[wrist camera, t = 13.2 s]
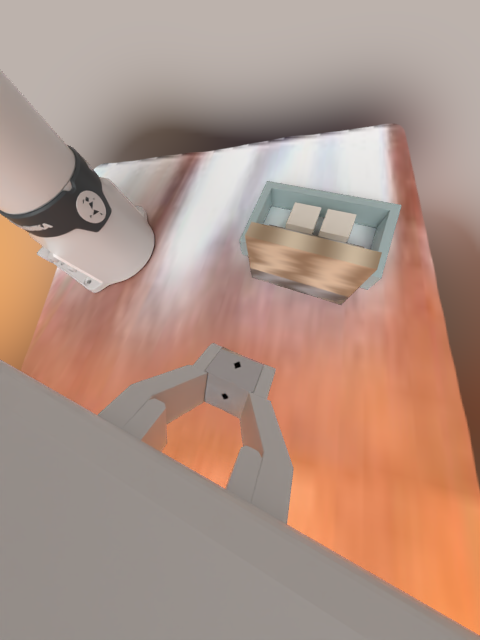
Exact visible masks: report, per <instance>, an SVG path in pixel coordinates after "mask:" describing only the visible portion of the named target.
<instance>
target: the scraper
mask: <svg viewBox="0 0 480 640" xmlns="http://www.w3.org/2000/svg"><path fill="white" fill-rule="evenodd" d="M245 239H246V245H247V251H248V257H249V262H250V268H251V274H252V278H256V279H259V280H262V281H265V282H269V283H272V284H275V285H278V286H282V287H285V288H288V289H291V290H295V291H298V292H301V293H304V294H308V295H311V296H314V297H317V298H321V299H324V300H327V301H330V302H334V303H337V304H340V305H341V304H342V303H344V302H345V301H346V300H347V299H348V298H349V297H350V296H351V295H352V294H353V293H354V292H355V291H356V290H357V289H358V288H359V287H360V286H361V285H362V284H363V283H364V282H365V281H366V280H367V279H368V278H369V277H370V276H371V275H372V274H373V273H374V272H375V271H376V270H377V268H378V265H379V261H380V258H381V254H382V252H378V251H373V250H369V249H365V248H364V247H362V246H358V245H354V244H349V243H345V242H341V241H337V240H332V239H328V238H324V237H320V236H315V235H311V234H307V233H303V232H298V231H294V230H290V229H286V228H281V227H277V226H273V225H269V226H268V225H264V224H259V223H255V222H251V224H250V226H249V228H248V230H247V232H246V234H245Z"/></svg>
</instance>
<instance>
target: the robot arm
mask: <svg viewBox="0 0 480 640" xmlns="http://www.w3.org/2000/svg"><path fill="white" fill-rule="evenodd" d="M0 214H2V215H3V216H5V217H6V218H7V219H9V221H11V222H12V223H14V224H15V225H16V226H18V227H20V228H22V229H24V230H26V231H27V232H29V235H30V237H32V238H33V239H34V240H35V241H37V242H38V243H39V244H41V245H42V247H43V248H41V249H40V250H39V251H38V252H37V255H39V256H40V257H42V258H44V259H46V260H47V261H49V262H52V263H54V264H55V265H56V266H58V267H59V268H60V269H62V270H63V271H64V272H66V273H67V274H68V275H70V276H71V277H72V278H74V279H75V280H76V281H78V282H79V283H80V284H81V285H83V286H84V287H85V288H87V289H88V290H90V291H91V292H93V293H96V292H99V291H101V290H102V289H104V288H105V287H107V286H108V285H110V284H113V283H117V282H121V281H124V280H126V279H128V278H130V277H132V276H133V275H135V274H136V273H137V272H138V271H140V270H141V269H142V268H143V266H144V265H145V264H146V263H147V261H148V260H149V258H150V256H151V254H152V251H153V248H154V234H153V231H152V229H151V227H150V226H149V224H148V222H147V213H146V211H145V210H144V209H143V208H142V207H141V206H134V205H133V204H132V203H131V202H130V201H129V200H128V199H127V197H126V196H125V195H124V194H123V193H122V192H121V191H120V190H119V189H118V188H117V187H116V186H115V184H114V183H113V182H112V181H110V180H109V179H107V178H106V179H105V178H101V177H99V176H98V175H97V174H96V173H95V171H94V170H93V169H92V167H91V166H90V164H89V163H88V162H87V161H86V160H85V159H84V158H83V157H81V156H80V154H79V153H78V152H77V151H76V150H75V149H74V148H72V147H71V146H68V145H66V144H65V143H64V141H63V140H62V139H61V138H60V137H59V136H58V135H57V133H56V132H55V131H54V130H53V129H52V128H51V127H50V125H49V124H48V123H47V122H46V121H45V120H44V119H43V117H42V116H41V115H40V114H39V113H38V112H37V111H36V109H35V108H34V107H33V106H32V105H31V104H30V103H29V101H28V100H27V99H26V98H25V97H24V96H23V95H22V93H21V92H20V91H19V90H18V89H17V88H16V87H15V86H14V85H13V83H12V82H11V81H10V80H9V79H8V78H7V76H6V75H5V74H4V73H3V72H2V71H1V70H0ZM275 371H276V370H275V368H273V367H270V366H267V365H265V364H262V363H260V362H257V361H255V360H252V359H250V358H247V357H245V356H242V355H240V354H238V353H235V352H233V351H231V350H229V349H226V348H224V347H221V346H219V345H217V344H214V343H212V344H211V345H210V346H209V347H208V348H207V349H206V350H205V352H204V353H203V354H202V355H201V356H200V358H199V359H198V360H197V361H196V362H195V363H194V365H193V366H192V365H187V366H184V367H181V368H178V369H175V370H172V371H169V372H166V373H163V374H161V375H158V376H155V377H152V378H149V379H146V380H143V381H140V382H137V383H134V384H132V385H130V386H129V387H128V388H127V389H126V390H125V391H123V392H122V393H121V394H120V395H119V396H118V397H117V398H116V399H115V400H113V401H112V402H111V403H110V404H109V405H108V406H107V407H106V408H105V409H103V410H102V411H101V412H100V413H99V414H98V415H96V414H94V413H92V412H91V411H89V410H87V409H86V408H84V407H82V406H80V405H79V404H77V403H75V402H73V401H72V400H70V399H68V398H66V397H65V396H63V395H61V394H59V393H58V392H56V391H54V390H53V389H51V388H49V387H47V386H46V385H44V384H42V383H40V382H39V381H37V380H35V379H33V378H32V377H30V376H28V375H26V374H25V373H23V372H21V371H19V370H18V369H16V368H14V367H13V366H11V365H9V364H7V363H5V362H4V361H2V360H0V640H480V635H478V634H476V633H475V632H473V631H471V630H469V629H468V628H466V627H464V626H462V625H461V624H459V623H457V622H455V621H454V620H452V619H450V618H448V617H447V616H445V615H443V614H442V613H440V612H438V611H436V610H435V609H433V608H431V607H429V606H428V605H426V604H424V603H422V602H421V601H419V600H417V599H415V598H414V597H412V596H410V595H409V594H407V593H405V592H403V591H402V590H400V589H398V588H396V587H395V586H393V585H391V584H389V583H388V582H386V581H384V580H382V579H381V578H379V577H377V576H376V575H374V574H372V573H370V572H369V571H367V570H365V569H363V568H362V567H360V566H358V565H356V564H355V563H353V562H351V561H350V560H348V559H346V558H344V557H343V556H341V555H339V554H337V553H336V552H334V551H332V550H330V549H329V548H327V547H325V546H323V545H322V544H320V543H318V542H317V541H315V540H313V539H311V538H310V537H308V536H306V535H304V534H303V533H301V532H299V531H297V530H296V529H294V528H292V527H290V526H289V525H287V518H288V510H289V502H290V493H291V485H292V476H293V466H292V463H291V460H290V457H289V454H288V451H287V448H286V445H285V442H284V439H283V436H282V433H281V430H280V428H279V425H278V422H277V419H276V416H275V413H274V410H273V407H272V404H271V401H269V400H267V397H268V394H269V391H270V387H271V384H272V381H273V377H274V374H275ZM203 401H204V402H206V403H209V404H211V405H213V406H215V407H218V408H220V409H222V410H224V411H226V412H228V413H230V414H232V415H233V416H235V417H237V418H239V419H240V427H241V435H242V442H243V447H241V449H240V452H239V454H238V457H237V459H236V461H235V464H234V466H233V469H232V471H231V473H230V476H229V478H228V481H227V484H226V487H225V489H224V488H223V487H221V486H219V485H218V484H216V483H214V482H212V481H211V480H209V479H207V478H205V477H204V476H202V475H200V474H198V473H197V472H195V471H193V470H191V469H190V468H188V467H186V466H185V465H183V464H181V463H179V462H178V461H176V460H174V459H172V458H171V457H169V456H167V455H165V454H164V453H162V450H163V449H164V447H165V445H166V444H167V427H166V425H167V424H168V423H170V422H172V421H173V420H175V419H177V418H178V417H180V416H182V415H183V414H185V413H187V412H188V411H190V410H192V409H193V408H195V407H197V406H198V405H200V404H202V403H203Z"/></svg>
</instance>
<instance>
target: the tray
mask: <svg viewBox="0 0 480 640" xmlns="http://www.w3.org/2000/svg"><path fill="white" fill-rule="evenodd" d="M295 202H296V203H301V204H306V205H311V206H316V207H321V211H320V214H319V216H322V217H325V215H326V213H327V210H328V209H331V210H336V211H341V212H346V213H351V214H356V218H355V221H354V223H356V224H360V225H365V226H370V227H375V228H377V230H376V233H375V237H374V240H373V243H372V247H371V250H373V251H378V252H382V254H381V258H380V261H379V265H378V268H377V270H376V271H375V272H374V273H373V274H372V275H371V276H370V277H369V278H368V279H367V280H366V281H365V282H364V283H363V284H362V285H361V286H360V288H364V289H367V290H368V289H369V288H371V287H372V286H373V285H374V284H375V283H376V282H377V281H379V280H380V279H381V277H382V273H383V270H384V266H385V263H386V259H387V255H388V252H389V248H390V245H391V241H392V237H393V234H394V230H395V227H396V223H397V219H398V216H399V212H400V209H401V205H398V204H393V203H387V202H382V201H376V200H370V199H365V198H359V197H354V196H348V195H342V194H337V193H331V192H326V191H320V190H315V189H309V188H303V187H298V186H292V185H287V184H281V183H275V182H270V181H267V183H266V185H265V187H264V189H263V191H262V193H261V195H260V198H259V200H258V202H257V204H256V206H255V208H254V210H253V212H252V215H251V217H250V219H249V221H248V223H247V225H246V227H245V230H244V232H243V234H242V236H241V238H240V240H239V242H240V246H241V251H242V254H243V255H246V256H248V251H247V245H246V239H245V234H246V232H247V230H248V228H249V226H250V224H251V222H255V223H259V224H263V223H264V221H265V219H266V217H267V214H268V212H269V210H270V208H271V206H275V207H279V208H284V209H289V210H292V208H293V206H294V204H295Z"/></svg>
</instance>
